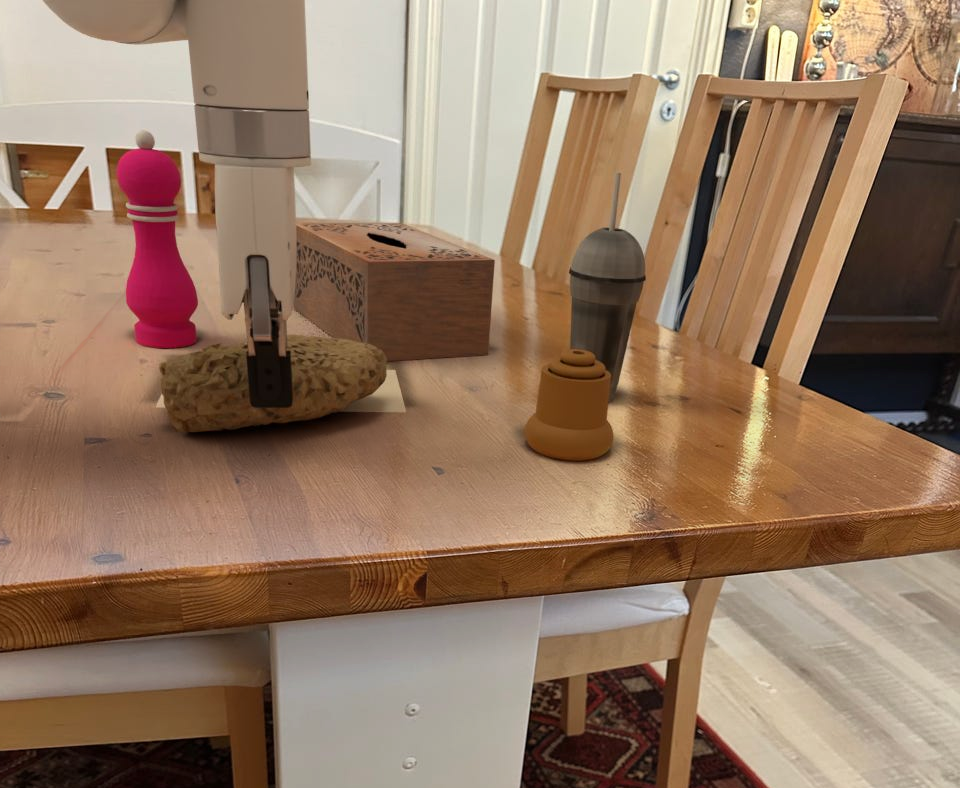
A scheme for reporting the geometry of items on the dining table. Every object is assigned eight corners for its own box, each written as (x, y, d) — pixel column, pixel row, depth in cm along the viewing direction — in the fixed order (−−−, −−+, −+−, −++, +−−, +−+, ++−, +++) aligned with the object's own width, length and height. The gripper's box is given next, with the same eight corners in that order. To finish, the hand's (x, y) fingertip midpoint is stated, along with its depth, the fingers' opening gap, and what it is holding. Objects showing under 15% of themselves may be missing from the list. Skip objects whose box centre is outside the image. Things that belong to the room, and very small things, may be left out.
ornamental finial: (526, 429, 82) (610, 437, 82) (521, 458, 76) (612, 467, 76) (534, 337, 78) (623, 345, 78) (530, 360, 72) (626, 368, 72)
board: (155, 409, 81) (154, 407, 81) (175, 366, 93) (175, 364, 93) (406, 414, 85) (406, 411, 85) (395, 371, 96) (395, 369, 96)
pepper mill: (135, 332, 102) (110, 125, 92) (203, 333, 104) (186, 130, 93) (127, 349, 96) (98, 130, 86) (199, 350, 98) (179, 135, 87)
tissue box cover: (488, 354, 104) (494, 260, 99) (367, 362, 98) (367, 261, 93) (399, 304, 123) (401, 223, 118) (293, 308, 117) (290, 222, 112)
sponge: (184, 465, 73) (421, 401, 78) (150, 365, 70) (399, 304, 74) (177, 439, 85) (384, 385, 89) (148, 352, 82) (364, 301, 86)
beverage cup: (559, 405, 89) (585, 174, 79) (551, 384, 96) (574, 167, 85) (633, 409, 90) (669, 180, 79) (621, 388, 96) (652, 173, 86)
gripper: (209, 129, 69) (231, 377, 78) (182, 143, 56) (212, 436, 66) (312, 135, 70) (321, 378, 79) (308, 149, 57) (319, 436, 67)
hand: (272, 404), depth 73 cm, fingers closed
